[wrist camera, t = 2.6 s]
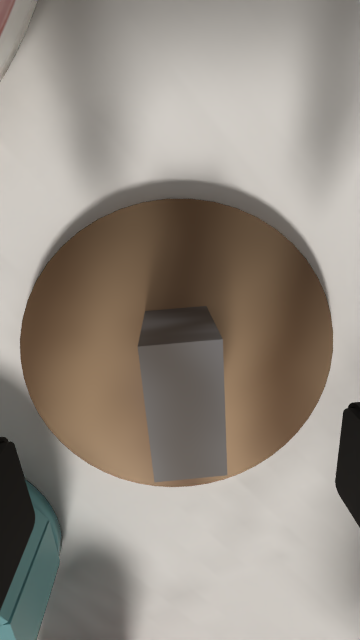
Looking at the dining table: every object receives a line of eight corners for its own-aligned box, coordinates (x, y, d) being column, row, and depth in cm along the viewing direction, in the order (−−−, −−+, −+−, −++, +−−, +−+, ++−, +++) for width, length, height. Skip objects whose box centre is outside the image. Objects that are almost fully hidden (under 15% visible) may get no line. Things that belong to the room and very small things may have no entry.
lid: (332, 188, 15) (427, 169, 10) (313, 458, 20) (369, 547, 15) (-4, 213, 15) (-102, 209, 9) (61, 483, 20) (21, 583, 14)
